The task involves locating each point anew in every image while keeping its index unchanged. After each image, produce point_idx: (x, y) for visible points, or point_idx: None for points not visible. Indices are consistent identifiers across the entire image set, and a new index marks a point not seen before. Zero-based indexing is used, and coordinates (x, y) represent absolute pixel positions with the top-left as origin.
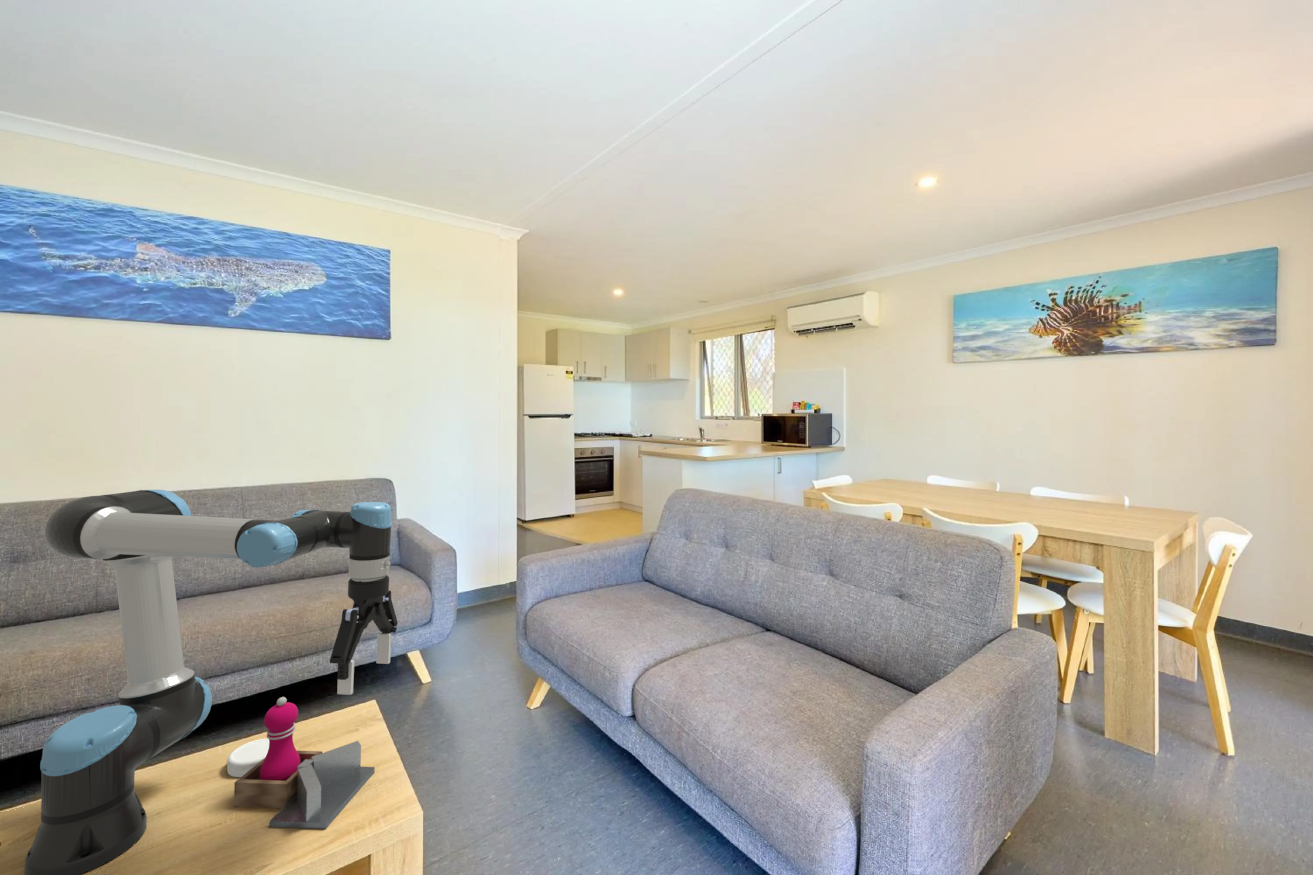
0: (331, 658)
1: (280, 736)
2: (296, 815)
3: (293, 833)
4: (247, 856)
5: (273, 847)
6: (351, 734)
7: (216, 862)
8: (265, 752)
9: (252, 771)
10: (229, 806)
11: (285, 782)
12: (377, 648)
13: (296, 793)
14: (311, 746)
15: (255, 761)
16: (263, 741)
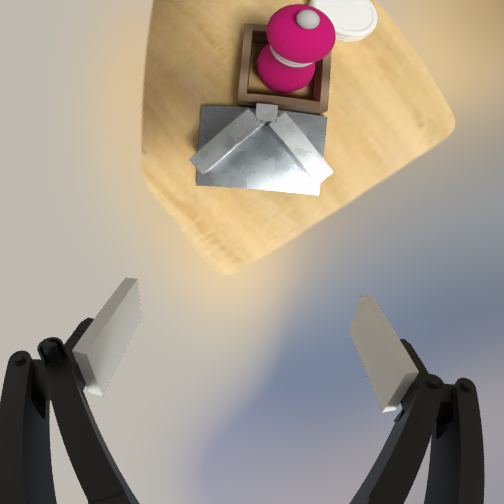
0: (10, 366)
1: (274, 53)
2: (211, 135)
3: (190, 146)
4: (154, 116)
5: (167, 137)
6: (410, 120)
7: (147, 88)
8: (341, 22)
9: None
10: None
11: (242, 95)
12: (379, 331)
13: None
14: (382, 72)
15: None
16: (368, 10)
